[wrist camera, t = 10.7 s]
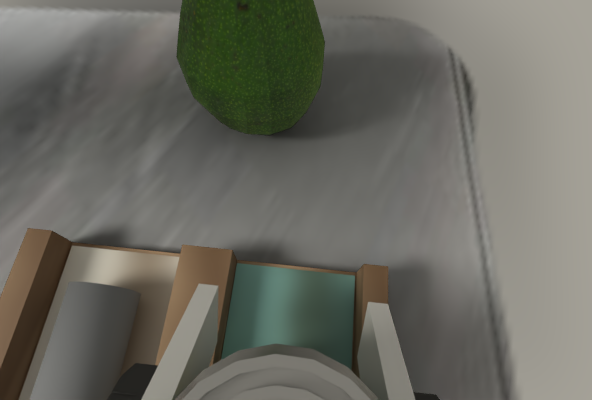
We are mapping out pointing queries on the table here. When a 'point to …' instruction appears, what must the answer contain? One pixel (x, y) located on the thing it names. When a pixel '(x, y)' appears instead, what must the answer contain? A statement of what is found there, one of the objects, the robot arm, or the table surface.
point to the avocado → (252, 60)
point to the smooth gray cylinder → (87, 343)
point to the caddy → (181, 302)
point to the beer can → (277, 377)
